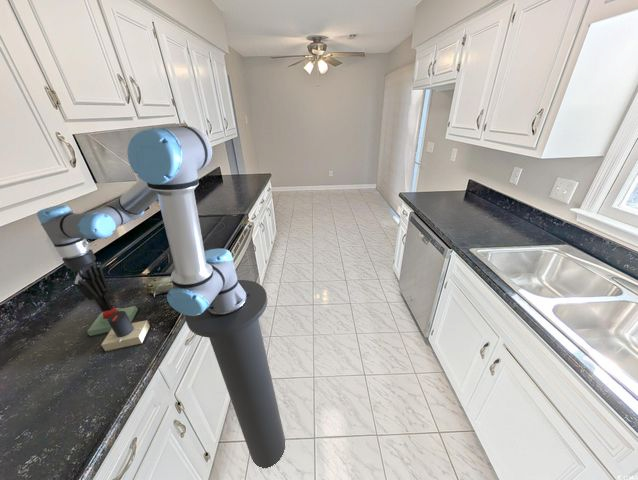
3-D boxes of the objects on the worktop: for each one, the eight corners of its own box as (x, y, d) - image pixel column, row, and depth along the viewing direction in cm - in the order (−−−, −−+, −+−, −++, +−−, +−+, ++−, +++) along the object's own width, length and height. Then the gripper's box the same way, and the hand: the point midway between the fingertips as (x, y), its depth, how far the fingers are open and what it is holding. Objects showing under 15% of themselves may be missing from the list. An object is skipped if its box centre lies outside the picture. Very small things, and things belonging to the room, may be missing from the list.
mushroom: (146, 298, 107) (141, 288, 105) (156, 285, 115) (151, 275, 113) (181, 294, 108) (177, 283, 106) (188, 281, 117) (185, 271, 115)
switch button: (119, 310, 96) (117, 306, 95) (114, 317, 92) (112, 313, 91) (107, 312, 95) (105, 309, 94) (102, 320, 91) (100, 316, 91)
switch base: (138, 310, 101) (134, 302, 99) (127, 328, 92) (123, 320, 90) (103, 316, 98) (99, 308, 97) (89, 336, 90) (84, 327, 88)
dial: (120, 328, 88) (111, 311, 85) (136, 324, 89) (128, 308, 86) (113, 338, 84) (103, 322, 80) (130, 335, 84) (121, 318, 81)
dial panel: (150, 325, 93) (147, 318, 91) (141, 344, 85) (137, 337, 83) (117, 332, 91) (113, 325, 89) (104, 352, 82) (99, 345, 81)
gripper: (78, 261, 77) (110, 319, 87) (100, 242, 88) (126, 296, 99) (49, 265, 75) (86, 324, 86) (75, 246, 87) (105, 300, 97)
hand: (107, 309), depth 92 cm, fingers closed
